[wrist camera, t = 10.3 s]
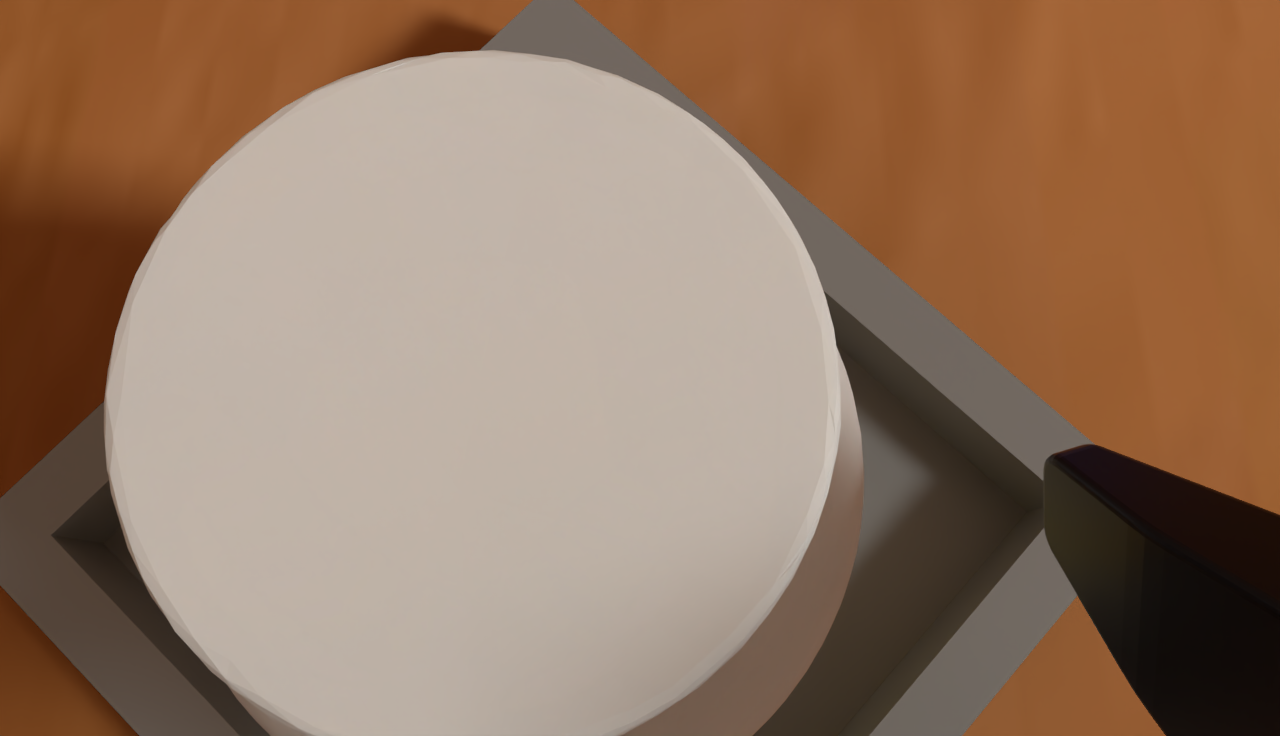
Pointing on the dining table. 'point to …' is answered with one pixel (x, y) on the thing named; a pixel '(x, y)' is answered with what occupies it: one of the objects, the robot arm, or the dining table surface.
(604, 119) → the pill bottle
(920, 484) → the holder tray
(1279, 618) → the robot arm
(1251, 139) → the dining table surface
